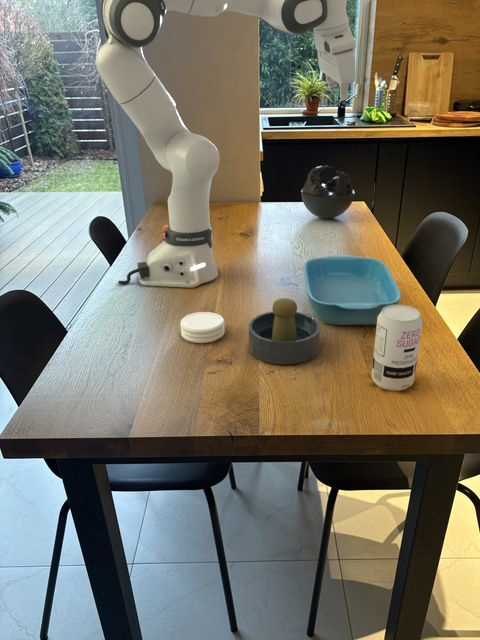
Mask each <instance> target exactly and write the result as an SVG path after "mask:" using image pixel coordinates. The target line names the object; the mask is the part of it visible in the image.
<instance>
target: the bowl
mask: <svg viewBox="0 0 480 640" xmlns="http://www.w3.org/2000/svg"><path fill="white" fill-rule="evenodd" d="M294 317H295V326H296V334H297V340H296V341H275V340H271V339H272V332H273V326H274V319H275V315H274V313H273V310H272V311H267V312H264V313H261V314H257V315H256V316H255V317H253V318H252V319H251V320H250V321H249V323H248V325H247V326H248V349H249V352H250V353H251V355H252V356H253V357H255V358H256V359H258V360H260V361H262V362H266V363H269V364H275V365H295V364H300V363H305V362H307V361H309V360H312V359H313V358H314V357H316V356H317V355H318V353H319V352H320V349H321V335H322V332H321V331H322V327H321V323H320V321H318V320H317V319H316V318H315V317H314V316H311V315H310V314H307V313H304V312H300V311H296V314H295V315H294Z"/></svg>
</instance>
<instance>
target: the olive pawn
mask: <svg viewBox="0 0 480 640" xmlns="http://www.w3.org/2000/svg"><path fill="white" fill-rule="evenodd" d="M271 309H272V311H273V313H274V315H275V319H274V326H273V332H272V339H271V340H275V341H296V340H297V334H296V326H295V317H294V315H295V314H296V312H298V305H297V302H296V301H295V300H294V299H292V298H288V297H281V298H278V299H276V300H275V301H273V303H272V308H271Z"/></svg>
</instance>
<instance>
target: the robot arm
mask: <svg viewBox="0 0 480 640" xmlns="http://www.w3.org/2000/svg"><path fill="white" fill-rule="evenodd" d="M347 3H348V0H101V4H100V12H101V13H100V14H101V19H102V25H103V29H104V35H105V38H106V39H107V40H106V42H105V43H103V44H102V45H101V46H100V48H99V49H98V51H97V53H96V56H95V67H96V69H97V72H98V73H99V75H100V78H101V79H102V81H103V82H104V84H105V86H106V87H107V89H108V91H109V92H110V93H111V95H112V96H113V98H114V100H116V102H117V104H118V105H119V106H120V107H121V108H122V110H123V111H124V112H125V114H126V115H127V116H128V118H129V119H130V120H131V122H132V123H133V124H134V125H135V127H136V128H137V129H138V130H139V132H140V133H141V135H142V137H143V138H144V141H145V142H146V144H147V146H148V148H149V150H150V151H151V152H152V154H153V156H154V158H155V159H156V161H157V162H158V163H159V165H160V166H161V167H162V168H163V169H165V170H167V171H169V172H171V174H172V183H171V191H170V195H169V196H168V198H167V208H168V223H169V225H168V224H165V225H163V227H162V239H163V241H162V242H161V243H160V244H158V245H157V246H156V247H155V248H154V249H152V250H151V251H150V252H149V254H148V255H147V258H146V261H140V262H137V268H136V269H132V270H131V271H129V272H128V273H127V275H126V280H118V281H117V283H118V285H128V284H129V283H130V282H131V276H132V275H134V274H137V273H138V283H140V285H142V286H148V287H167V288H168V287H171V288H191V289H193V288H196V287H198V286H200V285H202V284H205V283H209V282H211V281H213V280H215V279H217V277H218V276H219V272H218V269H217V266H216V262H215V258H214V252H213V244H214V239H213V238H214V237H213V235H214V234H213V230H212V229H213V227H212V226H211V221H210V195H211V187H212V184H213V183H212V182H213V177H214V176H215V175H216V173H217V171H218V169H219V167H220V163H221V161H220V160H221V159H220V158H221V157H220V153H219V150H218V148H217V147H216V146H215V144H213V142H212V141H211V140H209V139H208V138H207V137H205V136H204V135H201V134H197V133H195V132H194V133H193V132H192V131H190V130H189V129H188V128H187V127H186V126H185V124H184V123H183V121H182V119H181V117H180V115H179V112H178V110H177V105H176V102H175V101H174V99H173V97H172V96H171V95H170V93H169V92H168V90H167V88H166V87H165V86H164V84H163V83H162V81H161V80H160V79H159V77H158V76H157V74H156V73H155V72H154V70H153V69H152V67H151V66H150V64H149V63H148V62H147V60H146V57H145V56H144V53H143V48H144V47H147V46H148V45H150V44H151V43H153V41H154V40H155V39H156V38H157V36H158V34H159V32H160V29H161V27H162V26H161V25H162V23H163V20H164V18H165V15H166V13H167V11H171V12H178V13H181V14H185V15H191V16H197V17H218V16H219V15H221V14H222V13H224V12H234V13H238V14H243V15H247V16H251V17H255V18H258V19H259V20H261V21H262V22H263V23H264V24H265V25H266V26H267V27H269V28H270V29H272V30H274V31H279V32H285V33H288V34H290V35H299V36H300V35H303V34H305V33H307V32H309V31H311V30H312V31H313V37H314V38H313V39H314V45H315V50H317V62H318V68H319V71H320V72H321V73H323V74H324V75H325V79H326V82H327V85H328V91H329V92H330V93H333V92H337V90H338V87H337V84H338V86H339V93H338V94H339V99H340V100H341V101H342V102H344V101H347V100H349V88H350V85H352V84H354V83H355V81H356V56H355V51H354V49H355V48H356V46H357V45H356V43H357V42H356V39H355V37H354V36H353V34H352V31H351V28H350V20H349V16H348V14H347V5H348V4H347Z"/></svg>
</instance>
